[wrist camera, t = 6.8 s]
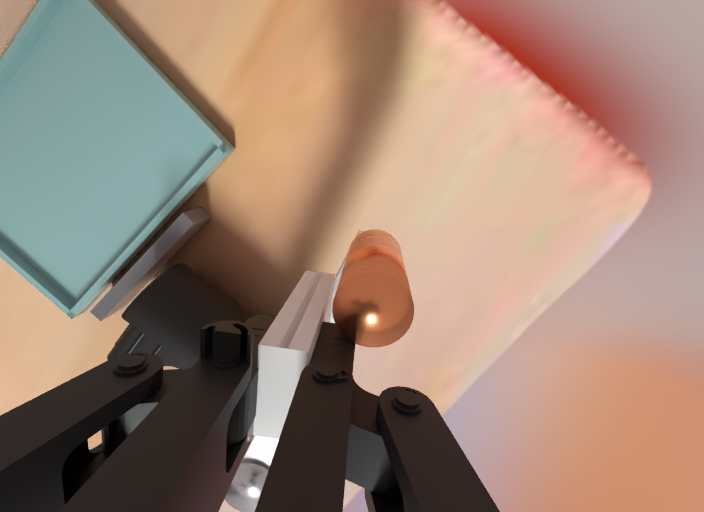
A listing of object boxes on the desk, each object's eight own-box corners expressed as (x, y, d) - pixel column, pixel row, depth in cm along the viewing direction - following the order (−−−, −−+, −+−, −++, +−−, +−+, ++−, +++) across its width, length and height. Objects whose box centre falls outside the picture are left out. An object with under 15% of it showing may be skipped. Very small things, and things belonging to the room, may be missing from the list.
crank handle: (227, 469, 22) (154, 621, 15) (357, 210, 17) (341, 251, 10) (273, 490, 23) (223, 650, 15) (415, 240, 18) (441, 301, 10)
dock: (256, 426, 31) (218, 512, 24) (114, 298, 29) (21, 349, 21) (348, 355, 29) (337, 426, 21) (200, 207, 26) (129, 228, 19)
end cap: (302, 330, 28) (279, 382, 22) (251, 385, 30) (216, 449, 24) (200, 250, 27) (144, 280, 21) (153, 313, 29) (88, 359, 22)
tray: (83, 312, 29) (71, 318, 28) (-63, 184, 27) (-82, 185, 26) (235, 148, 25) (228, 147, 24) (75, -21, 23) (58, -31, 21)
